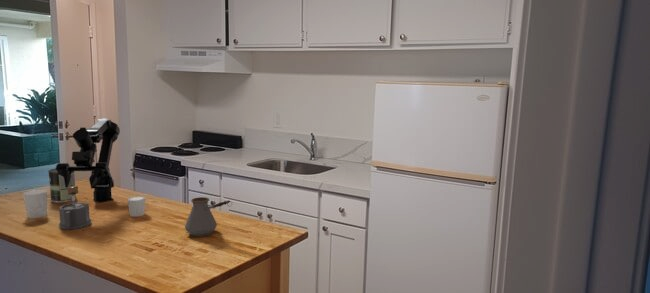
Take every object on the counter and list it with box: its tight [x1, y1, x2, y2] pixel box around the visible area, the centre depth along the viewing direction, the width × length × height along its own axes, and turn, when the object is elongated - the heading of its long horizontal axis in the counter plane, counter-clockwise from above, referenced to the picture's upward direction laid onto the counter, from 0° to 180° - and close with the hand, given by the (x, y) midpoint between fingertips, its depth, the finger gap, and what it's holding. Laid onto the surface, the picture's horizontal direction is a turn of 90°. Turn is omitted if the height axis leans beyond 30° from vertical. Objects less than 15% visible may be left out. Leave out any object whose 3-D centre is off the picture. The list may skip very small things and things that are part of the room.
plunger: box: [64, 185, 84, 209], centre depth 169 cm, size 7×7×8 cm
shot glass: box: [127, 195, 146, 218], centre depth 184 cm, size 7×7×7 cm
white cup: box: [23, 189, 48, 219], centre depth 180 cm, size 8×8×10 cm
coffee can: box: [47, 168, 77, 204], centre depth 203 cm, size 10×10×14 cm
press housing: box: [58, 202, 92, 231], centre depth 169 cm, size 13×11×8 cm
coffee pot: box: [184, 196, 233, 237], centre depth 160 cm, size 21×12×15 cm, turn 57°
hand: (78, 186), depth 174 cm, fingers open, 9 cm apart
